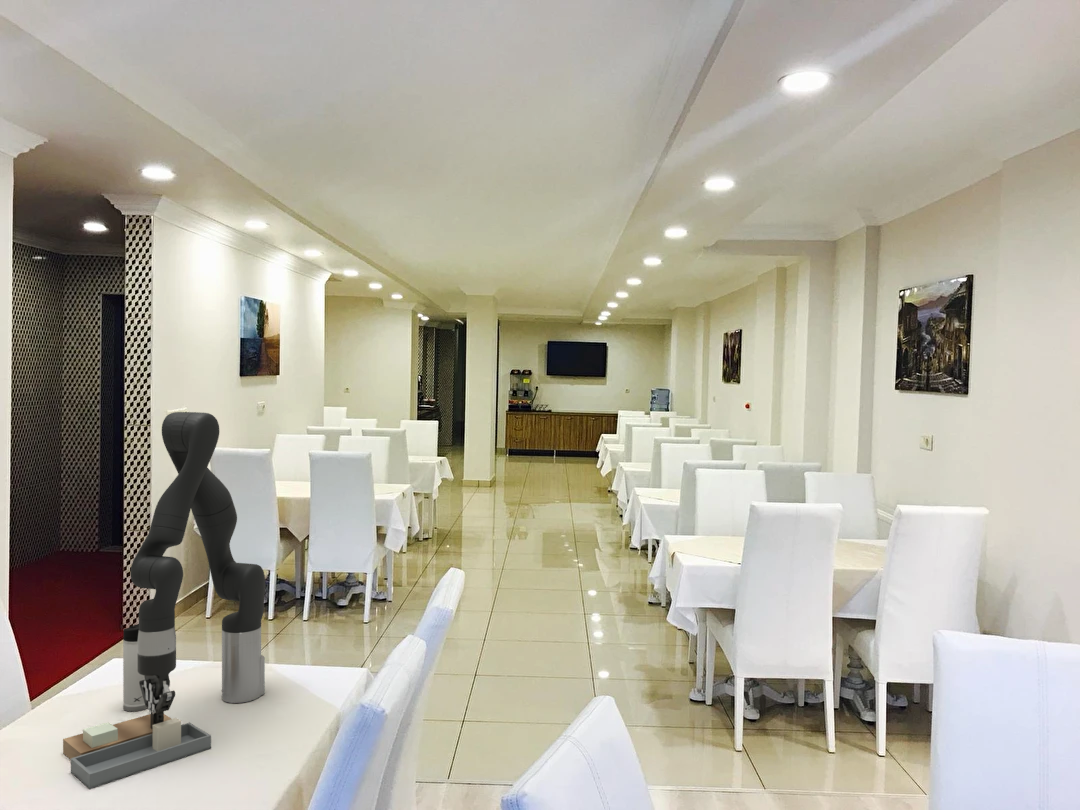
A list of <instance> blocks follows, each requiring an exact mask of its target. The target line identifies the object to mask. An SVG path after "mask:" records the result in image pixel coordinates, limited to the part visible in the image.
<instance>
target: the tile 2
mask: <svg viewBox="0 0 1080 810" xmlns="http://www.w3.org/2000/svg"><path fill="white" fill-rule="evenodd" d="M181 725H182V720H180V719H179V718H177V717H174V718H171V719H170V720H167V721H164V722H161V723H158V724H154V725H153V749H154V750H156V751H160V750H163V749H166V748H169V747H172V746H176V745H179V744H181Z"/></svg>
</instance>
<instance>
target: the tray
mask: <svg viewBox="0 0 1080 810" xmlns="http://www.w3.org/2000/svg"><path fill="white" fill-rule="evenodd" d="M210 748H211V749H212V735H211V734H210V733H209V732H207V731H205V730H203V729H201V728H199V726H196V725H195V724H193V723H191V722H190V721H189V722H186V723H183V724H182V723H181V744H179V745H176V746H172V747H169V748H166V749H163V750H160V751H156V750H154V749H153V734H149V735H146V736H143V737H140V738H136V739H133V740H130V741H126V742H123V743H120V744H117V745H113V746H110V747H107V748H103V749H100V750H97V751H94V752H90V753H87V754H84V755H80V756H77V757H74V758H71V759H70V773H71V774H72V775H73V776H74V777H76V778H77V780H78V781H80V782H81V783H82V784H83V785H84V786H86V788H88V789H89V790H91V789H94V788H97V787H101V786H103V785H106V784H108V783H109V784H110V783H112V782H114V781H117V780H118V781H119V780H121V779H123V778H124V779H125V778H126V777H129V776H132V775H136V774H138V773H142V772H145V771H147V770H151V769H153V768H157V767H159V766H162V765H165V764H169V763H173V762H174V761H177V760H180V759H183V758H186V757H189V756H192V755H195V754H198V753H201V752H204V751H207V750H210Z"/></svg>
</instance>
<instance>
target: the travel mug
mask: <svg viewBox="0 0 1080 810" xmlns="http://www.w3.org/2000/svg"><path fill="white" fill-rule="evenodd" d="M138 634H139V623H138V624H133V625H130V626H129V627H126V628H123V638H122V639H123V643H122V646H123V647H122V651H123V652H122V658H123V659H122V660H123V662H122V663H123V665H122V667H123V668H122V671H123V673H122V675H123V678H122V679H123V681H122V683H123V688H122V689H123V690H122V691H123V693H122V694H123V697H122V698H123V704H122V707H123V710H124V711H126V712H133V713H134V712H140V711H144V710H148V707H146V706H145V703H144V699H143V695H142V692H141V688H140V685H139V681H141V680H144V679H145V678H144V675H141V674H139V673H138V659H137V658H138V657H137V642H138Z"/></svg>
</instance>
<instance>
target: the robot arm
mask: <svg viewBox="0 0 1080 810" xmlns="http://www.w3.org/2000/svg"><path fill="white" fill-rule="evenodd" d="M161 437H162V442H163V444H164V448H165V449H166V452H167V453H168V456H169V457H170V459H171V462H172V464H173V465H174V468H175V470H176V471H177V476H176V477H175V478H174V479H173V481H172V482H171V483H170V484H169V486H168V487H167V488H166V489H165V491H164V492H163V493H162V494H161V496H160V498H159V499H158V501H157V504H156V506H155V509H154V512H153V516H152V519H151V524H150V528H149V532H148V534H147V536H146V537H145V539H144V540H143V542H142V545H141V546H140V548H139V550H138V552H137V553H136V555H135V557H134V558H133V560H132V563H131V567H130V574H129V575H130V580H131V582H132V583H133V585H134V586H135V587H137V588H140V589H149V590H155V593H154V597H153V598H151V599H150V598H149V599H147V600H144V601H143V602H141V603H140V605H139V608H138V624H139V634H138V642H137V657H138V658H137V659H138V673H139V674H141V675H144V678H145V679H144V680H141V681H139V685H140V688H141V692H142V695H143V699H144V703H145V706H146V707H148V708H147V710H148V711H149V714H150V727H151V729H152V730H153V725H154V724H158V723H161V722H164V714H165V712H166V711H170V709H171V706H172V703H173V701H174V699H175V697H176V691H175V690H171V689H170V687H171V680H170V676H169V675H170V673H171V672H172V671H174V670H175V669H176V668H177V633H176V626H175V624H176V621H175V620H176V618H175V617H176V615H175V614H176V613H175V612H176V610H175V608H176V604H177V601H178V597H179V594H180V590H181V587H182V584H183V578H184V570H183V569H184V568H183V566H182V564H181V562H180V560H179V559H177V558H176V557H173V556H164V554H166V553H165V552H166V551H167V550H168V549H169V548H172V547H176V546H179V545H181V544H182V542H183V540H184V538H185V537H184V536H185V534H186V533H185V532H186V529H187V525H188V521H189V516H190V513H192V516H193V519H194V522H195V524H196V527H197V529H198V531H199V535H200V537H201V540H202V544H203V547H204V551H205V554H206V557H207V558H206V559H207V563H208V565H209V572H210V576H211V581H212V584H213V585H212V586H213V588H214V591H215V593H216V594H217V596H218V597H219V598H220V599H222V600H225V601H235V602H239V605H238V611H236V612H235V611H234V612H232V613H229V614H227V615H225V616H224V617H223V618H222V620H221V699H222V701H223V702H226V703H230V704H239V703H247V702H250V701H254V700H256V699H258V698H260V697H261V696H264V695H265V694H266V692H265V691H266V690H265V689H266V688H265V687H266V685H265V684H266V683H265V681H266V680H265V677H266V674H265V671H266V667H265V665H266V664H265V663H266V661H265V659H266V657H265V656H264V655H262V621H263V620H262V619H263V614H264V611H265V609H264V608H265V593H266V576H265V575H266V574H265V572H264V569H263V567H262V566H261V565H259V564H256V563H246V562H245V563H243V562H236V561H235V559H234V557H233V555H232V551H231V547H230V546H231V545H230V544H231V540H232V538H233V535H234V533H235V529H236V526H237V523H238V514H237V510H236V507H235V504H234V500H233V498H232V494H231V492H230V491H229V490H228V488H227V487H226V485H225V484H224V483H223V482H222V481H221V480H220V479H219V478H218V476H217V475H215V473H213V472H212V471H211V469H210V468H208V467H209V464H210V463H211V459H212V457H213V454H214V453H215V449H216V448H217V445H218V442H219V437H220V424H219V421H218V419H217V418H216V417H215V415H213V414H211V413H209V412H197V411H195V412H194V411H176V412H171V413H169V414H167V415H166V416H165V417H164V418H163V421H162V424H161Z"/></svg>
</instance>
